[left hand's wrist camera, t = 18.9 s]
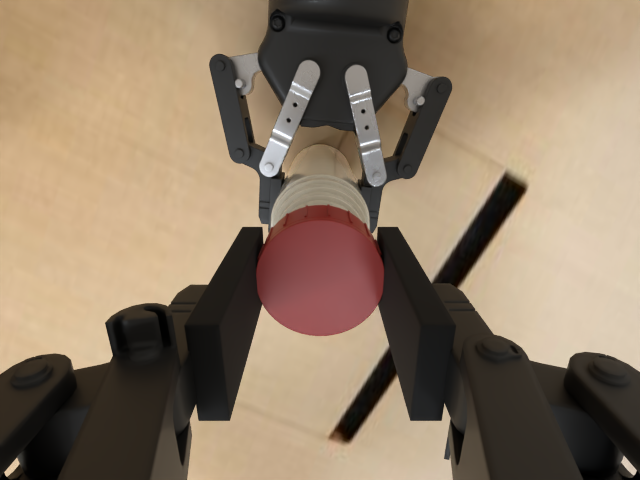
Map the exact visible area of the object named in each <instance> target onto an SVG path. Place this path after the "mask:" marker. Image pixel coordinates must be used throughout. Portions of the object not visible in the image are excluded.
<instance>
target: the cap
mask: <svg viewBox="0 0 640 480" xmlns="http://www.w3.org/2000/svg"><path fill="white" fill-rule="evenodd" d="M380 255H382V253H381V251H380V248H379V246H378V243H377V240H376V239H375V240H374V238H373V235H372V234H371V232H370V230H369V229H368V227H367V224H366V223H363V222H362V221H361V220H360V219H359V218H358V217H356V216H355V215H353V214H352V213H350V211H349V210H348V211H346V210H344V209H341V208H338V207H334V206H330V205H329V204H327V205H313V206H308V205H306V207H303V208H299V209H297V210H295V211H292V212H291V213H289V214H288V213H286V215H285V216H284V217H283V218H282V219H281V220H279V221H278V222H277V223H276V225H275V226H274V227H271V229H270V232H269V234H268V237H267V239H266V241H265V244H263V245H262V247H261V250H260V253H259V255H258V258H257V259H258V263H257V267H256V278H257V292H258V295H259V298H260V300H261V302H262V304H263V306H264V307H265V309H266V310H267V311H268V313H269V314H270V315H271V316H272V317H273V318H274V319H275V320H276V321H278V322H279V323H280V324H282V325H283V326H285V327H287V328H289V329H291V330H293V331H296V332H299V333H302V334H306V335H313V336H327V335H334V334H339V333H342V332H345V331H348V330H350V329H352V328H354V327H356V326H357V325H359V324H360V323H362V322H363V321H364V320H365V319H366V318H368V317H369V316H370V314H371V313H372V312H373V311H374V310H375V308H376V307H377V305H378V303H379V301H380V299H381V297H382V294H383V282H384V265H383V261H382V258H381V256H380Z"/></svg>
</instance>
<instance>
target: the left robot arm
mask: <svg viewBox="0 0 640 480" xmlns="http://www.w3.org/2000/svg"><path fill="white" fill-rule="evenodd" d="M377 243H378V246H379V248H380V251H381V253H382V255H380V256H381V258H382V261H383V265H384V282H383V294H382V297H381V299H380V301H379V303H378V306H379V310H380V313H381V317H382V320H383V324H384V328H385V331H386V335H387V338H388V342H389V345H390V349H391V353H392V356H393V360H394V363H395V367H396V371H397V374H398V378H399V381H400V385H401V389H402V392H403V396H404V399H405V403H406V406H407V410H408V414H409V417H410V421H442V414H443V408H444V403H445V405H446V408H447V410H448V412H449V415H450V417H451V420H450V426H449V432H448V438H447V444H446V450H445V457H444V459H447V460H449V458H450V456H451V465H452V474H453V480H640V372H639V371H637V370H636V369H634V368H633V367H631V366H630V365H628V364H626V363H624V362H622V361H620V360H618V359H616V358H614V357H611V356H608V355H607V356H606V355H605V354H600V353H591V352H582V353H576V354H575V355H573V356H572V357H571V358H570V360H569V364H568V367H567V369H566V368H561V367H556V366H552V365H547V364H542V363H537V362H534V361H530V360H529V358H528V356H527V354H526V353H525V352H524V351H523V349H522V348H521V347H520V346H518V345H517V344H515V343H514V342H513V341H511V340H508V339H506V338H504V337H501V336H497V335H494V334H493V333H492V332H491V330H490V329H489V327H488V326H487V325H486V323H485V322H484V321H483V319H482V318H481V316H480V315H479V314H478V312H477V311H475V308H474V307H473V306H472V304H471V303H469V300H468V299H467V297H466V296H465V295H464V293H463V292H462V291H461V290H459V289H457V288H456V287H454V286H453V285H451V284H431V282H430V281H429V279H428V277H427V276H426V274H425V272H424V270H423V269H422V267H421V265H420V264H419V262H418V260H417V259H416V257H415V255H414V254H413V252H412V250H411V249H410V247H409V245H408V244H407V242H406V240H405V239H404V237H403V235H402V234H401V232H400V230H399V228H398V227H378V233H377ZM262 245H263V229H262V227H242V229H241V231H240V232H239V234H238V236H237V237H236V239H235V241H234V242H233V244H232V246H231V247H230V249H229V251H228V252H227V254H226V256H225V257H224V259H223V261H222V262H221V264H220V266H219V268H218V269H217V271H216V273H215V274H214V276H213V278H212V279H211V281H210V283H209V284H208V285H189V286H188V287H186V288H185V289H183V290H182V291H180V292H179V293H178V294H177V295H176V296H175V298H174V299H173V301H172V302H171V304H170V305H169V306H168V307H167V306H166V305H162V304H158V303H145V304H140V305H135V306H131V307H129V308H126V309H123V310H121V311H119V312H117V313H116V314H114V315H113V316H111V317H110V318H109V319H108V320H107V322H106V323H105V324H106V329H107V333H108V337H109V341H110V345H111V349H112V353H113V357H112V359H111V361H110V362H109V363H105V364H101V365H97V366H92V367H87V368H82V369H77V370H74V369H73V366H72V363H71V360H70V359H69V358H68V357H67V356H65V355H61V354H47V355H39V356H35V357H32V358H29V359H26V360H24V361H22V362H20V363H18V364H16V365H14V366H12V367H11V368H9V369H8V370H6V371H5V372H3V373H2V374H0V480H187V475H188V466H189V457H190V448H191V439H192V432H191V426H190V417H191V415H192V412H193V410H194V408H195V405H196V406H197V413H198V419H199V421H230V418H231V415H232V411H233V407H234V404H235V400H236V397H237V393H238V389H239V386H240V382H241V379H242V375H243V371H244V368H245V364H246V361H247V357H248V353H249V350H250V346H251V343H252V339H253V335H254V332H255V328H256V325H257V321H258V318H259V314H260V310H261V307H262V302H261V300H260V298H259V295H258V292H257V278H256V267H257V263H258V259H257V258H258V255H259V253H260V250H261V247H262ZM623 456H625V457H626V458H627V459H628V460H629V462H630V463H631V464H632V465H633V466H634V467H635V469H636V470H637V472H636V474H635V475H634V476H633V475H632V474H631V473H630V472H629V471H628V470H627V469H626V468H625V467H624V466H623V464H622V463H621V461H622V459H623ZM16 458H18V460H19V463H20V464H19V466H18V467H17V468H16V469H15V470H14V472H12V473H11V474H10V475H9V476H8V477H6V476H5V473H4V472H5V471H6V469H7V468H8V467H9V466H10V465H11V464H12V462H13V461H14V460H15V459H16Z"/></svg>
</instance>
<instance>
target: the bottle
mask: <svg viewBox="0 0 640 480" xmlns="http://www.w3.org/2000/svg"><path fill="white" fill-rule="evenodd" d="M327 204H329V205H330V206H334V207H338V208H341V209H344V210H346V211H348V210H349V211H350V213H352V214H353V215H355V216H356V217H358V218H359V219H360V220H361V221H362V222H363V223H366V224H367V227H368V229H369V230H370V218H369V211H368V208H367V205H366V203H365V200H364V198H363V196H362V193H361V191H360V189H359V186H358V184H357V182H356V179H355V177H354V175H353V172H352V170H351V168H350V165H349V163H348V161H347V159H346V158H345V156H344V155H343V154H342V153H341V152H340V151H339V150H337V149H336V148H334V147H331V146H329V145H323V144H317V145H312V146H309V147H307V148H305V149H303V150H302V151H301V152H299V153H298V154H297V156H296V157H295V158H294V160H293V162H292V164H291V166H290V169H289V171H288V173H287V176H286V178H285V180H284V183H283V185H282V187H281V190H280V192H279V194H278V197H277V199H276V201H275V204H274V206H273V209H272V214H271V227H274V226H275V225H276V223H277V222H278V221H279V220H281V219H282V218H283V217H284V216H285V215H286V213H288V214H289V213H291V212H292V211H295V210H297V209H299V208H303V207H306V205H308V206H313V205H327Z"/></svg>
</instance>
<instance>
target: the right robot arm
mask: <svg viewBox="0 0 640 480" xmlns="http://www.w3.org/2000/svg"><path fill="white" fill-rule="evenodd" d="M408 1H409V0H269V14H268V28H267V32H266V36H265V38H264V40H263V42H262V44H261V45H260V47H259V50H258V53H252V54H246V55H240V56H234V57H227V56H225V55H223V54H216V55H214V56H213V57H212V58H211V60H210V64H209V66H210V71H211V76H212V80H213V84H214V89H215V93H216V97H217V102H218V106H219V111H220V115H221V119H222V124H223V128H224V132H225V137H226V141H227V145H228V150H229V154H230V157H231V159H232V160H233V161H234V162H236V163H240V164H241V163H243V164H245V165H247V166H249V167H251V168H253V169H255V170H256V171H257V173H258V174H259V177H260V193H259V218H260V221H261V223H262V224H269V226H268V232H270V229H271V214H272V209H273V206H274V204H275V201H276V199H277V197H278V194H279V192H280V190H281V187H282V185H283V183H284V179H285V172H282V164H283V161H284V159H285V157H286V155H287V152H288V150H289V148H290V146H291V143H292V141H293V139H294V137H295V134H296V132H297V130H298V128H299V125H301V126H303V127H319V126H325V125H329V126H331V127H334V128H337V129H339V130H346V131H353V134H354V138H355V142H356V145H357V149H358V153H359V157H360V162H361V166H362V170H363V172H362V179H361V180H360V179H358V186H359V189H360V191H361V193H362V196H363V198H364V200H365V203H366V205H367V208H368V211H369V218H370V232H371V233H373V232H374V230H375V228H376V227H377V221H378V214H379V208H380V201H381V195H382V189H383V187H384V186H385V184H386V183H388V182H390V181H392V180H396V179H400V178H404V179H410V178H412V177H413V176H415V174H416V173H417V170H418V168H419V166H420V163H421V161H422V159H423V156H424V154H425V152H426V149H427V147H428V145H429V142H430V140H431V138H432V135H433V133H434V131H435V128H436V126H437V124H438V121H439V119H440V117H441V114H442V112H443V110H444V107H445V105H446V103H447V100H448V98H449V95H450V93H451V91H452V83H451V81H450V80H449V79H448V78H446V77H432V76H429V75H426V74H424V73H421V72H418V71H416V70H413V69H410V68H408V64H407V60H406V57H405V54H404V49H403V35H404V28H405V21H406V14H407V8H408ZM261 71H262V73H263V74H264V76H265V78H266V79H267V81H268V83H269V84H270V86H271V88H272V89H273V91H274V93H275V94H276V96H277V98H278V100H279V101H280V103H281V105H282V106H283V107H282V109H281V111H280V114H279V116H278V119H277V121H276V124H275V126H274V128H273V131H272V134H271V137H270V140H269V142H268V144H267V147H266V148H264V147H262V146H260V145H258V144H255V140H254V135H253V130H252V125H251V120H250V115H249V110H248V105H247V100H246V95H248V94H250V93H251V92H252V91H253V89H254V79H255V77H256V75H257V74H258V73H259V72H261ZM400 85H401V86H402V87H403V88H404V90H405V99H404V104H405V107H406V108H407V109H408V110H410V114H409V116H408V119H407V121H406V124H405V126H404V129H403V131H402V134H401V136H400V139H399V141H398V144H397V146H396V149H395V151H394V154H393V156H391V157H387V158H384V159H383V155H382V150H381V141H380V136H379V131H378V126H377V121H376V116H375V114H376V112H377V111H378V110H379V109H380V108H381V107H382V106H383V105H384V103H385V102H386V101H387V100H388V99H389V98H390V97H391V95H392V94H393V93H394V92H395V91H396V90H397V89H398V87H399V86H400Z"/></svg>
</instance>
